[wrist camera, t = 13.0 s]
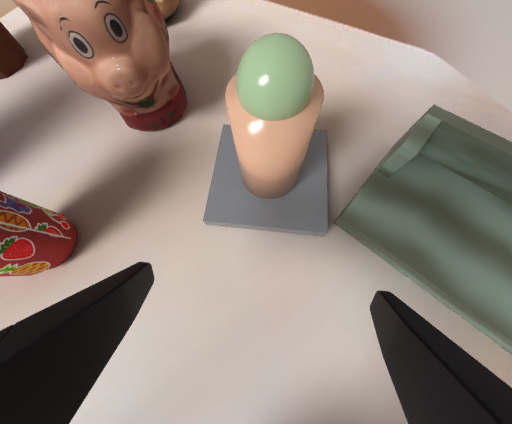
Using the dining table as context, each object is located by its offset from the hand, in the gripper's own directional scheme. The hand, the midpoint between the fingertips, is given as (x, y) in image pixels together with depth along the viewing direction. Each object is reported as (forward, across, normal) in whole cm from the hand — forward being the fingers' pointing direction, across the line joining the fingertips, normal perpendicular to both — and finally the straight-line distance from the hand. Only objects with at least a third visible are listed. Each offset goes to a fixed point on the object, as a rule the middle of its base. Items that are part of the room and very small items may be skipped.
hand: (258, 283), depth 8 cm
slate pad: (+17, 0, +1) cm, 17 cm away
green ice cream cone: (+16, 0, 0) cm, 16 cm away
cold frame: (+13, -20, +4) cm, 24 cm away
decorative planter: (+26, +19, -8) cm, 33 cm away
